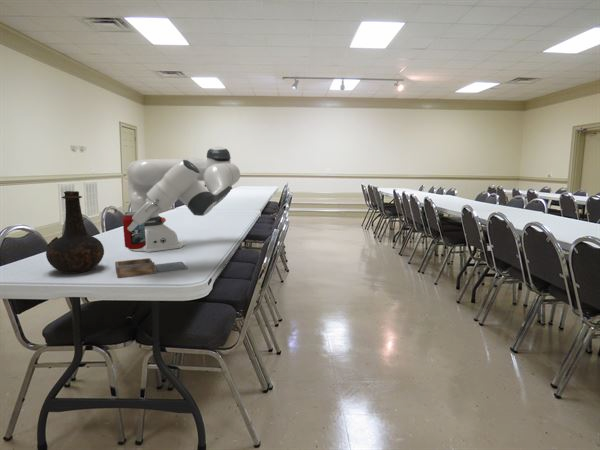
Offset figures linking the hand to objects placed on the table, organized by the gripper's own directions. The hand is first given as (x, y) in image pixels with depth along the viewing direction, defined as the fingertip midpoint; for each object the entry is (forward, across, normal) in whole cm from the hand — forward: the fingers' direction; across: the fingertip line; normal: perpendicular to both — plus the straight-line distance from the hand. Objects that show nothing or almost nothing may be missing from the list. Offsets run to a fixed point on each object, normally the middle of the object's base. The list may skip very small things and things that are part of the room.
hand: (132, 228), depth 138 cm
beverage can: (+5, 0, -6) cm, 7 cm away
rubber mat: (+3, +3, -19) cm, 19 cm away
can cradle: (+11, 0, -11) cm, 15 cm away
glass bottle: (+26, +6, +4) cm, 27 cm away
